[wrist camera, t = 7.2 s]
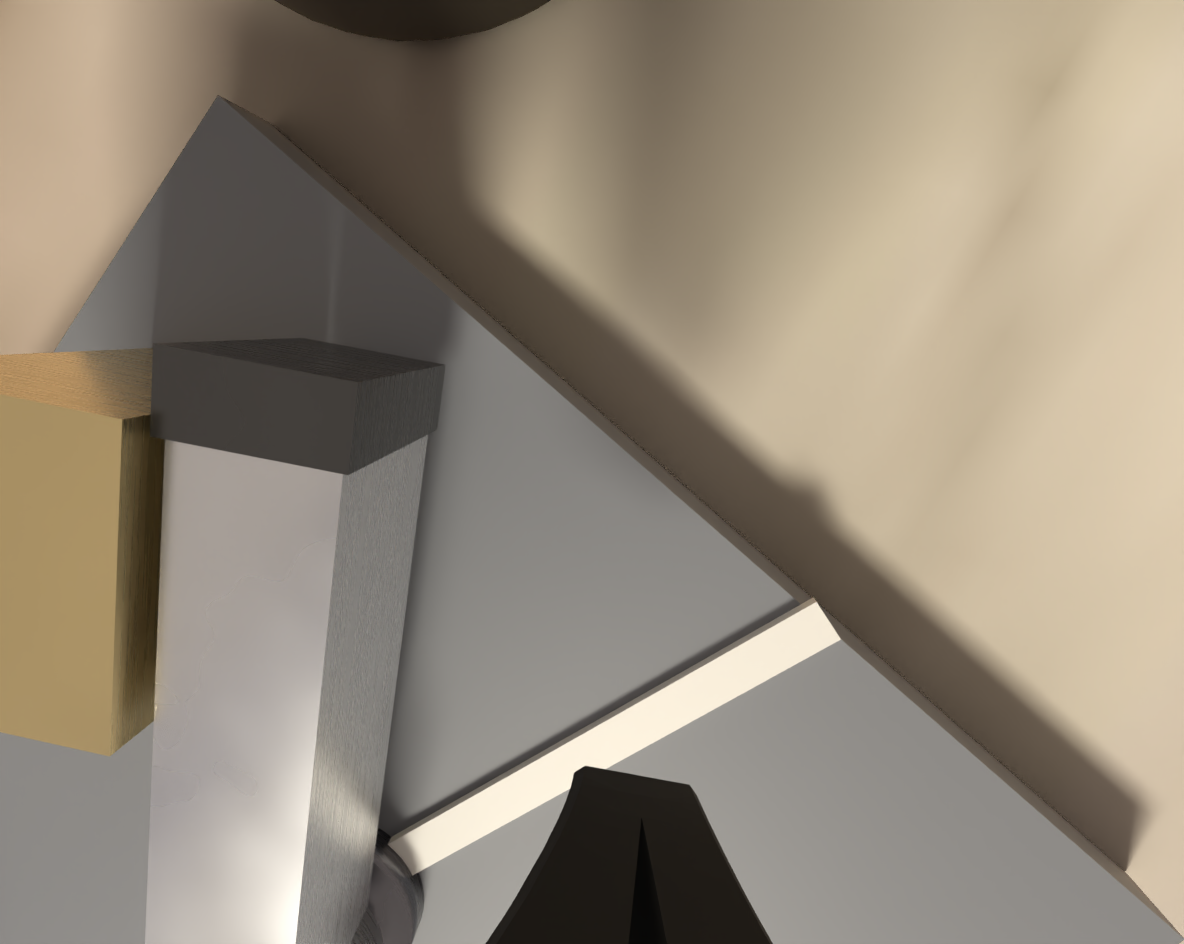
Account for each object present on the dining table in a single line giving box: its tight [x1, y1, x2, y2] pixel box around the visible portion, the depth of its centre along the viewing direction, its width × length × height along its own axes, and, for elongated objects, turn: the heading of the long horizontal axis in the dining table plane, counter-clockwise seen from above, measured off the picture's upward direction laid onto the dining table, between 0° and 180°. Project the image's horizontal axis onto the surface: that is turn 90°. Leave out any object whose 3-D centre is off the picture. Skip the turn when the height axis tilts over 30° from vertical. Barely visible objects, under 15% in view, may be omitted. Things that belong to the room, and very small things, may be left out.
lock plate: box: [0, 95, 1184, 944], centre depth 14 cm, size 18×22×2 cm
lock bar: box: [145, 338, 446, 944], centre depth 10 cm, size 12×3×3 cm, turn 170°
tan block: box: [0, 348, 165, 756], centre depth 10 cm, size 4×3×4 cm
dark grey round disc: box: [368, 828, 424, 944], centre depth 13 cm, size 4×4×1 cm
